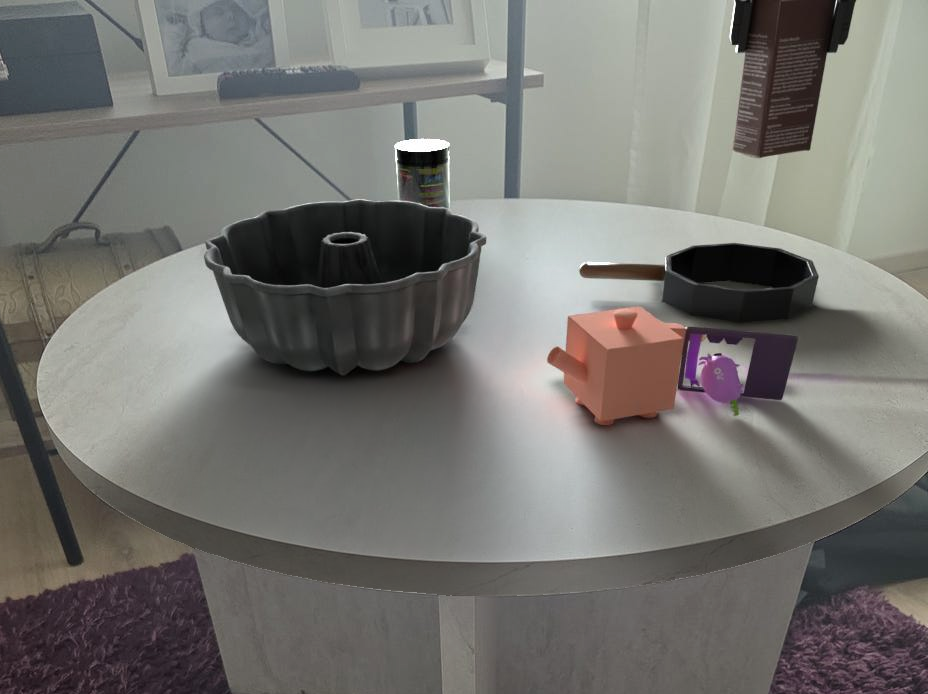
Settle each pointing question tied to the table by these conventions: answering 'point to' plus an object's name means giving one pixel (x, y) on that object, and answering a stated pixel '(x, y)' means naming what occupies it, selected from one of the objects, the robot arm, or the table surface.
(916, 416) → the table surface
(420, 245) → the bundt pan
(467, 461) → the table surface
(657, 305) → the table surface
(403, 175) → the supplement container
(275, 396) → the table surface
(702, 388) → the purple frame figurine
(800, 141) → the box
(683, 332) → the pink cube teapot
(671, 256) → the frying pan
